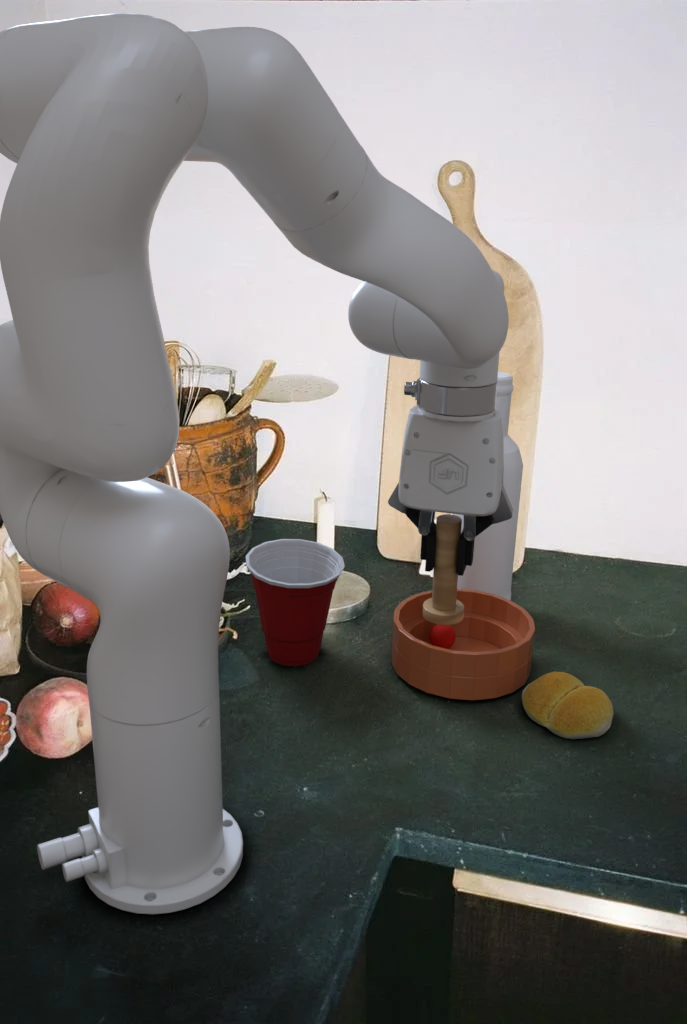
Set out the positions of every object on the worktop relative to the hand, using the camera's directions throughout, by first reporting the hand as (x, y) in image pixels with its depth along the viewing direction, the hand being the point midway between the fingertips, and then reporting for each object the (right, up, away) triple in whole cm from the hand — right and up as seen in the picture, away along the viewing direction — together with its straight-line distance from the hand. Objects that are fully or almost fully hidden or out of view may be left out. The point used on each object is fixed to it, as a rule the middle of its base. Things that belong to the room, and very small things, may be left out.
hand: (446, 566), depth 98 cm
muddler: (0, -5, +2) cm, 6 cm away
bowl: (+2, -11, +6) cm, 13 cm away
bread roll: (+12, -15, -3) cm, 20 cm away
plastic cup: (-16, -11, +8) cm, 21 cm away
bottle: (+6, -7, +19) cm, 21 cm away
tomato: (0, -8, +8) cm, 12 cm away
